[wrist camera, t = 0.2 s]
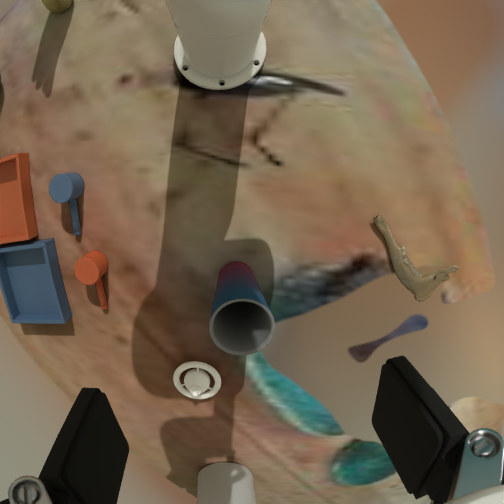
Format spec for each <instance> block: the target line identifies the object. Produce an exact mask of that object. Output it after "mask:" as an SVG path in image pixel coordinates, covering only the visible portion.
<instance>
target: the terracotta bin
mask: <svg viewBox="0 0 504 504" xmlns="http://www.w3.org/2000/svg"><path fill="white" fill-rule="evenodd" d="M36 236H38V230H37V224H36V218H35V211H34V204H33V197H32V188H31V179H30V168H29V155H28V153H17V154H14V155H11V156H8V157H5V158H2V159H0V244H4V243H11V242H17V241H24V240H30V239H32V238H34V237H36Z"/></svg>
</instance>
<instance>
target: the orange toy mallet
mask: <svg viewBox="0 0 504 504" xmlns="http://www.w3.org/2000/svg"><path fill="white" fill-rule="evenodd" d="M107 268H108V262H107V259H106V257H105V256H104V255H103V254H102V253H101V252H99V251H91V252H89V253H88V254H86V255H85V256H84V257H82V258H81V259H80V260H78V261H77V263H76V264H75V275H76V277H77V279H78V280H79V281H80V282H81V283H83V284H85V285H92V284H94V283H95V286H96V290H97V294H98V298H99V302H100V306H101V308H102V309H103V310H106V309H107V308H108V304H107V300H106V296H105V292H104V287H103V283H102V278H101V276H102V275H103V274H104V273H105V272H106V271H107Z"/></svg>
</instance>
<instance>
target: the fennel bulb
mask: <svg viewBox="0 0 504 504" xmlns="http://www.w3.org/2000/svg"><path fill="white" fill-rule="evenodd" d="M72 1H73V0H42V2H43V3H44V5H45V7H46V8H47V9H48V10H49V11H51V12H52V13H54V14H59V13H61V12H63V11H65V10H67V9H68V8H69V7H70V6H71V4H72Z"/></svg>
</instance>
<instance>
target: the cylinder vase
mask: <svg viewBox="0 0 504 504" xmlns="http://www.w3.org/2000/svg"><path fill="white" fill-rule="evenodd" d="M197 504H256V500H255V492H254V484H253V476H252V473H251V471H250V470H249V469H248V468H246V467H244V466H242V465H239V464H236V463H228V462H222V463H214V464H211V465H208V466H206V467H204V468H203V469H201V470H200V472H199V474H198V491H197Z"/></svg>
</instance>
